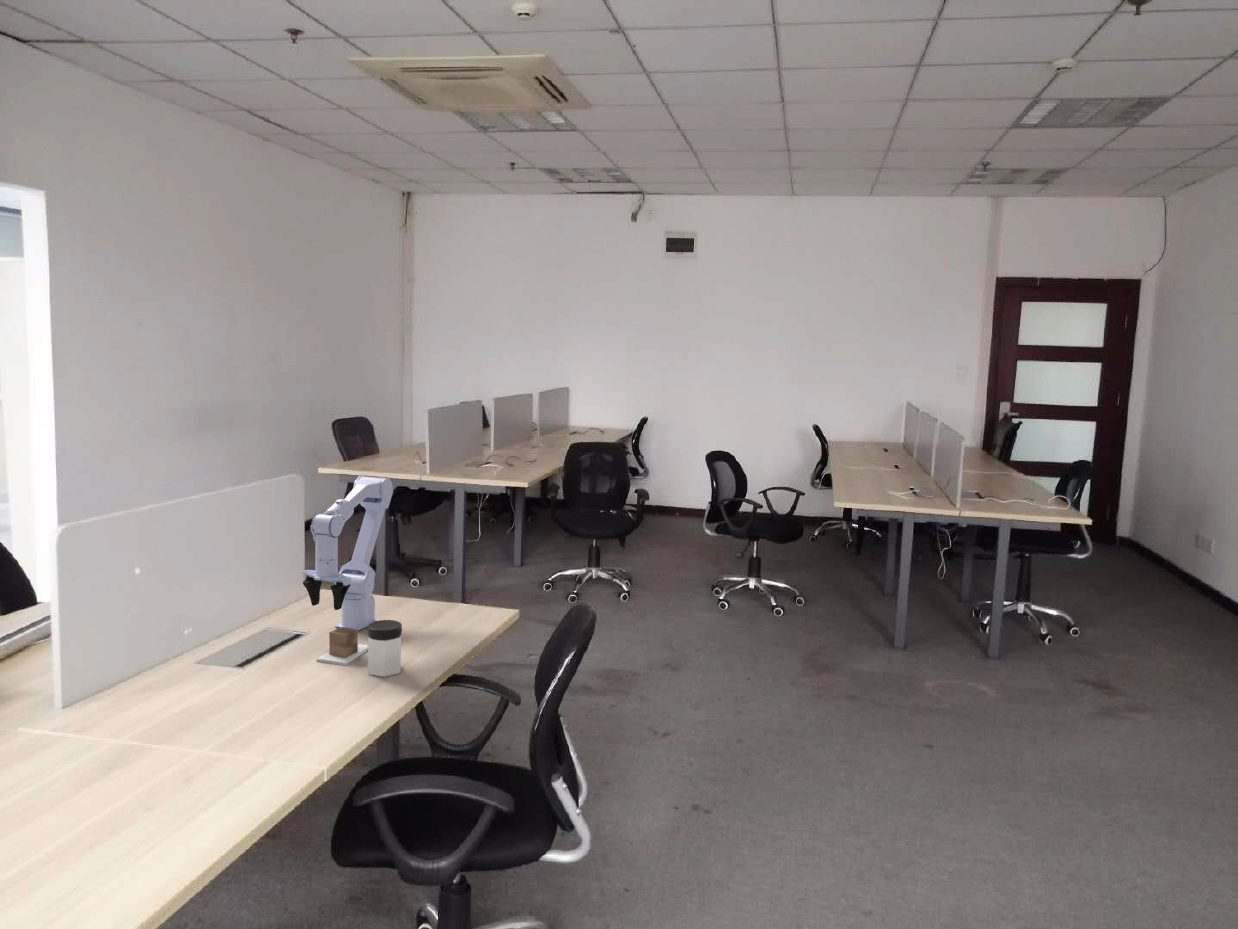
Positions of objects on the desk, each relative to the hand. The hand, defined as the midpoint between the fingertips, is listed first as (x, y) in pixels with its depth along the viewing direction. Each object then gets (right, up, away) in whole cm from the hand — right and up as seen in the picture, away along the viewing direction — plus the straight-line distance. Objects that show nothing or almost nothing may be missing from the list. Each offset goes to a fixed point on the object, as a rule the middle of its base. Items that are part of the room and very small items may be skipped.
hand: (326, 606), depth 227 cm
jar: (+20, -14, -16) cm, 29 cm away
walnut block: (+7, -11, -8) cm, 15 cm away
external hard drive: (+7, -12, -7) cm, 16 cm away
